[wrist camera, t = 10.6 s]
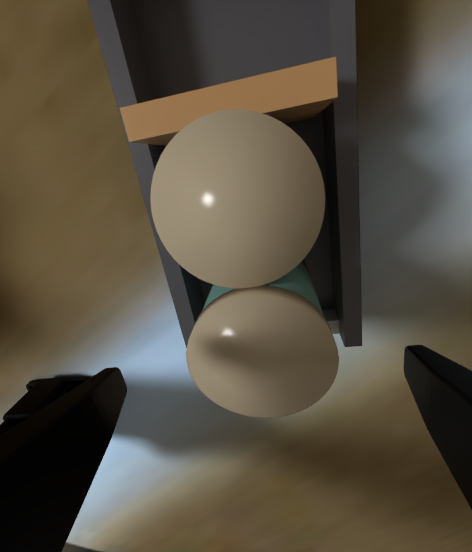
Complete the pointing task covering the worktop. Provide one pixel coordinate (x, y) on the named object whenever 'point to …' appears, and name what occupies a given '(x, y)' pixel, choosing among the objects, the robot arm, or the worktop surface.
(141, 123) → the bar
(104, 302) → the worktop surface
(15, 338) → the worktop surface
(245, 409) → the teal jar
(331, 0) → the grey open rectangular box
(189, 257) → the slate jar
